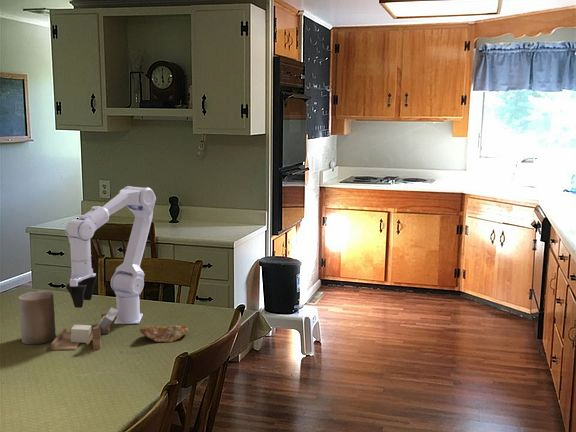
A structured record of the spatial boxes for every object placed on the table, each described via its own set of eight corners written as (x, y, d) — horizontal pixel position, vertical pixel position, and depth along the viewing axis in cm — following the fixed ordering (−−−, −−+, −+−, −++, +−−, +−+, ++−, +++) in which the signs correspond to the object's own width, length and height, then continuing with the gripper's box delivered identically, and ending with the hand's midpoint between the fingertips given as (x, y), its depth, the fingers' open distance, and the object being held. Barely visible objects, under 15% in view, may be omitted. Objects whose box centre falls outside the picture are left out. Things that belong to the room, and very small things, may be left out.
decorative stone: (136, 320, 193) (184, 320, 199) (135, 334, 193) (183, 333, 199) (142, 329, 184) (192, 329, 190) (140, 343, 184) (190, 343, 190)
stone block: (91, 338, 190) (73, 337, 190) (91, 325, 190) (74, 324, 189) (88, 342, 186) (70, 342, 186) (88, 329, 186) (71, 328, 185)
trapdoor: (101, 335, 194) (93, 330, 194) (118, 310, 193) (110, 305, 193) (94, 348, 183) (85, 343, 183) (112, 321, 183) (103, 316, 182)
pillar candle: (63, 336, 192) (60, 288, 190) (38, 346, 183) (35, 296, 181) (39, 332, 196) (36, 285, 194) (13, 342, 187) (10, 292, 185)
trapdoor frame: (63, 333, 195) (63, 313, 194) (109, 332, 196) (109, 312, 195) (50, 350, 180) (49, 329, 179) (100, 349, 182) (99, 328, 181)
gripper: (86, 265, 181) (88, 310, 183) (102, 254, 195) (103, 296, 198) (61, 264, 181) (64, 310, 183) (79, 254, 196) (81, 296, 198)
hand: (83, 303), depth 191 cm, fingers open, 7 cm apart
